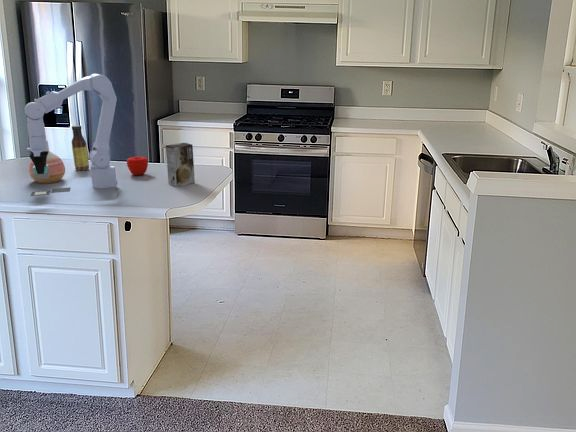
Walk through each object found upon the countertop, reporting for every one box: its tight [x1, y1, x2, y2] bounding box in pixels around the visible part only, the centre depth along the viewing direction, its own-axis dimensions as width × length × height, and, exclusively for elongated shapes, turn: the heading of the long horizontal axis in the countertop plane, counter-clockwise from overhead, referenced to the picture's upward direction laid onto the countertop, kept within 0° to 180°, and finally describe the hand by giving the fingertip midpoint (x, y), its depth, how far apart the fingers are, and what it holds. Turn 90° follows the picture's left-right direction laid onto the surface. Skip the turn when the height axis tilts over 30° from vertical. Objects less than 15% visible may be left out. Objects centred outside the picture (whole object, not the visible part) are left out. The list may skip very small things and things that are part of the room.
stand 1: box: [30, 190, 52, 197], centre depth 212 cm, size 7×7×1 cm
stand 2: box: [50, 187, 71, 194], centre depth 216 cm, size 7×7×1 cm
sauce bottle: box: [71, 125, 90, 172], centre depth 255 cm, size 7×6×20 cm
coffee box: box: [165, 142, 196, 187], centre depth 229 cm, size 9×6×16 cm
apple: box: [126, 156, 149, 176], centre depth 246 cm, size 9×9×8 cm
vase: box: [28, 140, 66, 184], centre depth 229 cm, size 14×14×18 cm
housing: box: [33, 164, 50, 179], centre depth 210 cm, size 5×5×4 cm
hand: (41, 172), depth 210 cm, fingers closed on housing, 5 cm apart
